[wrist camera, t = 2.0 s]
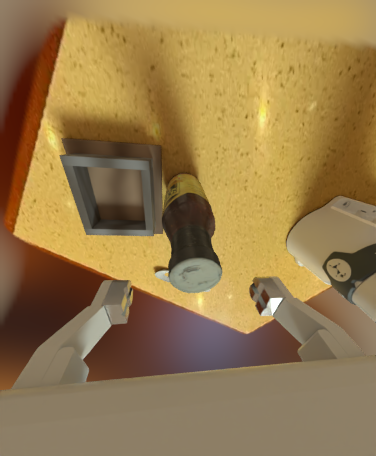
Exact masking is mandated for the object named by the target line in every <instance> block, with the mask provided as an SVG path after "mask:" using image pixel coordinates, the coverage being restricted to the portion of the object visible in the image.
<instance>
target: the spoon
mask: <svg viewBox="0 0 376 456" xmlns="http://www.w3.org/2000/svg"><path fill="white" fill-rule="evenodd" d="M166 272H168V273H169V270H160V271H157V272H156V273H155V276H156V277H157V278H159V279H162V280H164V281H167V282H170V280H169V277H166V276H165V275H164V274H165V273H166ZM209 291H210V289H209V290H206V291H205V292H209Z"/></svg>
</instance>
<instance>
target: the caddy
mask: <svg viewBox="0 0 376 456" xmlns="http://www.w3.org/2000/svg"><path fill="white" fill-rule="evenodd" d="M61 139H62V142H63V145H64V148H65V151H66V154H65V155H59V156H60V159H61V161H62V164H63V167H64V170H65V173H66V176H67V179H68V182H69V185H70V188H71V191H72V194H73V197H74V200H75V203H76V206H77V209H78V212H79V214H80V217H81V220H82V223H83V226H84V229H85V232H86V235H123V236H154V234H163V226H162V214H163V208H162V160H161V145H148V144H134V143H121V142H108V141H95V140H81V139H68V138H61Z"/></svg>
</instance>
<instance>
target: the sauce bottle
mask: <svg viewBox="0 0 376 456" xmlns="http://www.w3.org/2000/svg"><path fill="white" fill-rule="evenodd" d="M162 226H163V229H164V231H165V233H166V235H167V237H168V238H169V240H170V242H171V248H172V252H171V259H170V261H169V266H168V267H169V280H170V282H171V284H172V285H173V286H174V287H175V288H177V289H178V290H180V291H183V292H187V293H199V292H204V291H206V290H209V289H211V288H212V287H214V286H215V285H216V284H217V283H218V282H219V281H220V279H221V276H222V268H221V265H220V262H219V259H218V256H217V255H216V253H215V252H214V250H213V248H212V244H211V237H212V236H213V235H214V231H215V218H214V215H213V213H212V209H211V206H210V204H209V201H208V199H207V197H206V195H205V193H204V190H203V188H202V186H201V183H200V182H199V181H198V179H197V178H196V177H194V176H193V175H191V174H188V173H180V174H178V175H175V176H174V177H173V178H172V179H171V181H170V182H169V184H168V186H167V191H166V196H165V202H164V209H163V214H162Z"/></svg>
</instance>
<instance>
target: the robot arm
mask: <svg viewBox="0 0 376 456" xmlns="http://www.w3.org/2000/svg"><path fill="white" fill-rule="evenodd" d="M287 250H288V251H289V253H290V254H291V255H293V256H294V257H295V261H296V263H297V264H298V265H300V266H305V267H306V268H307V269H309V270H310V271H311V272H312V273H313V274H315V275H316V276H317V277H318V278H319V279H321V280H322V281H323V282H324V283H326V284H330V285H332V286H333V287H334V288H335V289H336V290H337V291H338V293H339V294H340V295H341V296H342V297H344V298H346V299H347V300H348V301H349V302H350V303H352V304H354V305H357V306H358V307H359V308H360V309H361V310H363V311H364V312H365V313H366V314H367V315H368V316H369V317H370V318H371V319H372V320H373V321H374V322H375V323H376V206H374V205H371V204H367V203H364V202H361V201H357V200H354V199H351V198H347V197H344V196H338V197H336V198H334V199H333V200H331V201H330V202H329V203H328V204H326V205H325V206H324V207H322V208H320V209H318V210H316V211H314V212H312V213H310V214H308V215H307V216H305V217H304V218H303V219H301V220H300V221H299V222H298V223H297V224H296V225H295V226H294V228H293V229H292V230H291V232H290V234H289V236H288V238H287ZM249 291H250V296H251V298H252V300H253V301H255V302H256V305H255V306H256V308H257V310H258V312H259V314H260V316H273V317H274V318H275V319H276V320H277V321H278V322H279V323H280V324H282V325H283V327H284V328H286V329H287V330H288V331H289V332H290V333H291V334H292V335H293V336H294V337H295V338H296V339H297V340H298V341H299V342H300V343H301V344H302V346H301V347H300V348H299V349H298V354H299V355H300V357H301V359H302V360H303V362H296V363H286V364H275V365H265V366H254V367H244V368H232V369H222V370H211V371H201V372H191V373H179V374H169V375H159V376H148V377H137V378H127V379H116V380H105V381H95V382H85V380H86V378H87V375H88V372H89V369H88V367H87V365H86V364H85V363H84V361H83V359H84V358H85V356H86V355H87V354H88V353H89V352H90V350H91V349H92V348H93V347H94V345H95V344H96V343H97V342H98V340H99V339H100V338H101V337H102V336H103V335H104V333H105V332H106V331H107V330H108V329H109V327H110V326H111V324H122V323H126V322H127V319H128V315H129V308H128V307H129V306H130V305H131V303H132V297H133V290H132V288H131V281H130V280H105V281H103V283H102V284H101V286H100V288H99V290H98V292H97V294H96V296H95V298H94V300H93V303H92V304H91V306H89V307H87V308H85V309H84V310H83V311H82V312H81V313H79V314H78V315H77V316H76V317H74V318H73V319H72V320H71V321H70V322H69V323H67V324H66V325H65V326H64V327H63V328H61V329H60V330H59V331H58V332H57V333H55V334H54V335H53V336H52V337H50V338H49V339H48V340H47V341H46V342H44V343H43V344H42V345H41V346H39V348H38V349H37V350H36V351H35V353H34V354H33V356H32V358H31V359H30V361H29V362H28V364H27V365H26V367H25V368H24V370H23V371H22V373H21V375H20V376H19V378H18V379H17V381H16V382H15V384H14V385H13V387H12V388H11V389H10V390H0V456H376V355H371V356H366V355H365V354H364V352H363V351H362V350H361V349H360V348H359V347H358V346H357V344H356V343H355V342H354V341H353V340H352V339H351V338H350V337H349V336H348V335H347V333H346V332H345V331H344V330H343V329H342V328H341V327H340V326H338V325H336V324H335V323H334V322H332V321H331V320H329V319H328V318H326V317H325V316H323V315H321V314H320V313H318V312H317V311H315V310H314V309H312V308H311V307H309V306H308V305H306V304H305V303H303V302H302V301H300V300H299V299H297V298H294V297H293V296H292V295H291V293H290V292H289V291H288V289H287V288H286V287H285V286H284V284H283V283H282V282H281V280H280V279H279V278H278V277H255V278H254V279H253V284H252V285H251V286H250V288H249Z"/></svg>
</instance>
